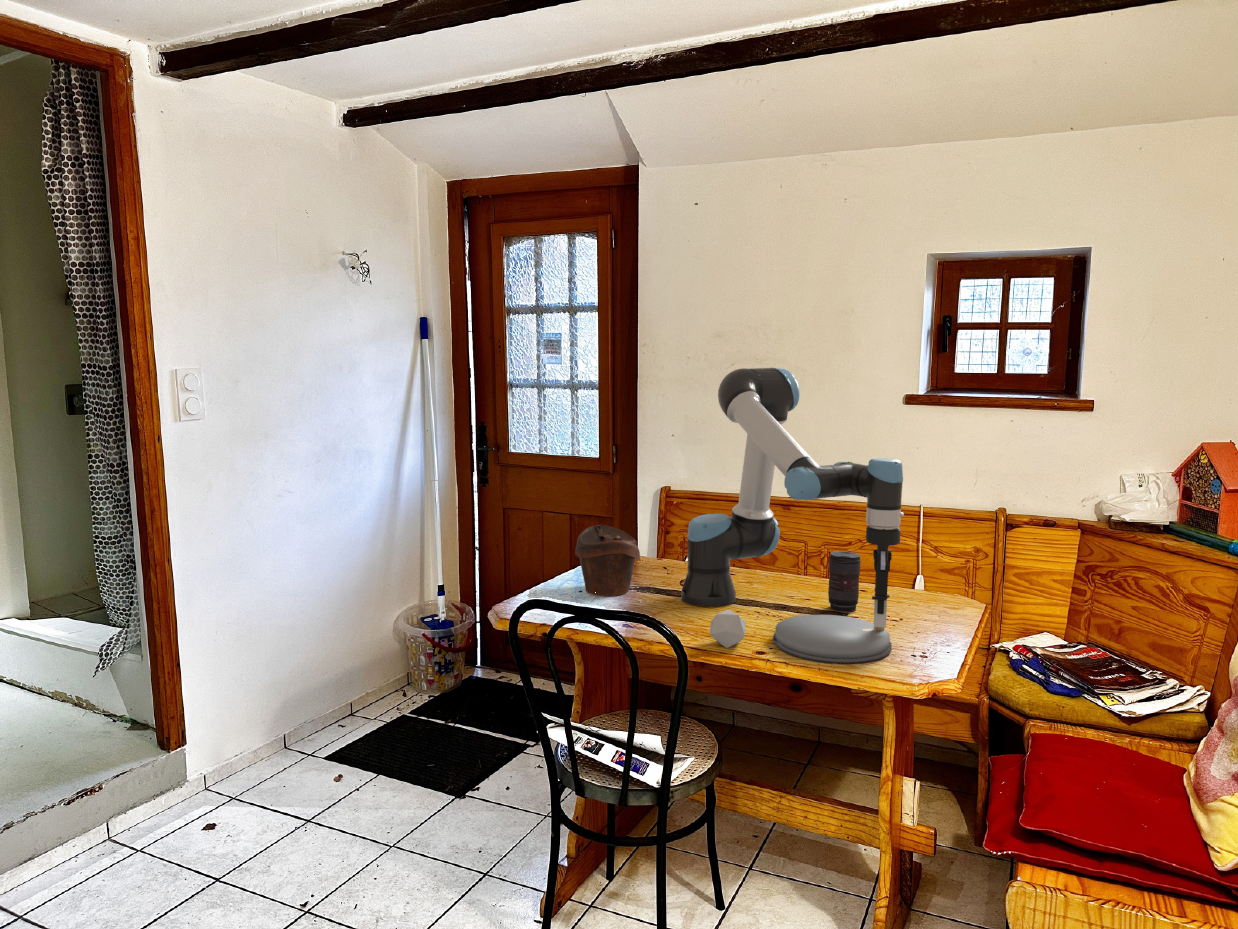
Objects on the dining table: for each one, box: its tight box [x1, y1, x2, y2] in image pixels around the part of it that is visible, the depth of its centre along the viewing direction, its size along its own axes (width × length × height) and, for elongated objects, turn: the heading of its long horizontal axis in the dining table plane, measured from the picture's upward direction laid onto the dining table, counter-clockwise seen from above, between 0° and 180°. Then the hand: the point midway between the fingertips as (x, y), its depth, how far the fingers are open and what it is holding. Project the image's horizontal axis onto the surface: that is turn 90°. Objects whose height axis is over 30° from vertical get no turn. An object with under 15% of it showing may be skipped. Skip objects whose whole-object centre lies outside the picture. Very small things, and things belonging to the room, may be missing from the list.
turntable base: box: [772, 632, 893, 665], centre depth 201 cm, size 27×27×1 cm
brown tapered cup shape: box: [574, 524, 641, 597], centre depth 245 cm, size 18×20×18 cm
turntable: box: [774, 614, 891, 659], centre depth 200 cm, size 26×26×8 cm
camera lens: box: [827, 550, 862, 613], centre depth 228 cm, size 8×8×15 cm
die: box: [709, 609, 747, 649], centre depth 200 cm, size 8×9×10 cm
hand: (879, 626), depth 198 cm, fingers closed
